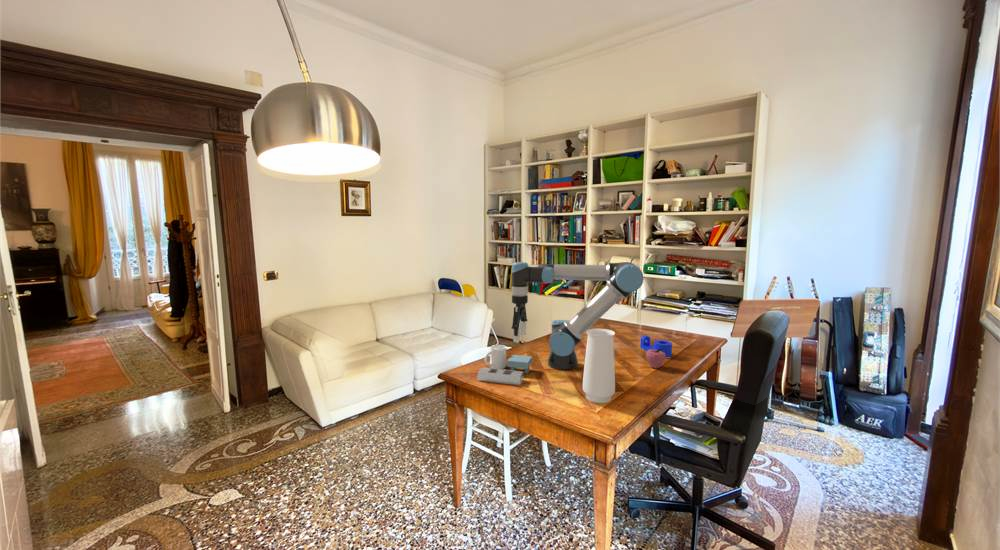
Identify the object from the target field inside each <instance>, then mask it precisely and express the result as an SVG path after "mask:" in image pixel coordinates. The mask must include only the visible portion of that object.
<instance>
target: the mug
mask: <svg viewBox="0 0 1000 550" xmlns="http://www.w3.org/2000/svg"><path fill="white" fill-rule="evenodd" d="M488 357H489V361H488ZM484 363H485V365H486V366H489V368H495V369H504V370H505V369H506V368H507V346H506V345H503V344H493V345H491V346H490V347H489V351H488V352H486V353H485V355H484Z"/></svg>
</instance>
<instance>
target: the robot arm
mask: <svg viewBox="0 0 1000 550" xmlns="http://www.w3.org/2000/svg"><path fill="white" fill-rule="evenodd" d="M554 280H562V281H564V280H567V281H568V280H569V281H599V282H604V281H605V282H606V285H605V286H603V288H602V289H601V290H600V291H598V293H597V294H596V295H595V296H594V297H592V298H591V300H590V301H589V302H588V303H587V304H586V305H584V306H583V308H582V309H580V311H578V313H576V314H575V315H574V316H573V317H572V318H571V319H570V320H569V319H554V320H553V321H552V322H551V334H550V337H549V339H548V344H549V349H550V353H549V355H548V359H547V365H548V366H549V367H550V368H553V369H556V370H562V371H568V370H569V371H570V370H574V369H576V368H578V366H579V361H578V357H577V354H576V350H575V349H576V346H577V345H578V344H579V343H580V342H582V341H583V339H584V336H583V335H584V334H586V331H587V330H589V329H591V327H593V325H594V324H595V323H597V322H598V321H599V320H600V319H601V318H602V317H603V316H604V315H605V314H606V313H607V312H608V311H609V310H610V309H611V308H612V307H613V306H614V305H615V304H616V303H618V301H620V300H621V299H627V298H628V297H629V296H630V295H631V294H632V293H634V292H636V291H638V290H639V289H640V288H641V287H642V286H643V285H644V284H643V283H644V273H643V271H642V269H641V268H640V267H639V266H637V265H636V264H635V263H632V262H629V261H625V262H624V261H622V262H621V261H620V262H608V263H607V264H563V263H562V264H561V263H560V264H555V263H554V264H550V263H549V264H548V263H540V264H538V265H537V266H529V264H528V262H526V261H524V262H523V261H516V262H513V263H512V265H511V287H510V290H511V303H512V304H513V305H514V304H515V306H514V307H513V316H512V323H511V324H512V326H511V329H512V330H513V331H512V333H513V338H512V339H513V340H512V341H513V343H517V344H520V335H521V336H522V335H526V334H527V331H526V329H527V326H526V325H527V324H526V323H527V322H528V316H527V310H526V309H527V308H526V304H527V303H528V302H529V300H528V299H529V297H528V294H529V293H528V292H529V285H528V284H530V283H531V284H533V283H534V284H538V283H539V284H552V283H553V282H554Z"/></svg>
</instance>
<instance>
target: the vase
mask: <svg viewBox="0 0 1000 550" xmlns="http://www.w3.org/2000/svg"><path fill="white" fill-rule="evenodd" d="M585 334H587V340H586V348H585V355H584V357H585V358H584V366H583V375H582V376H583V377H582V391H583V392H584V393H585V397H586V400H588V401H590V402H591V403H596V404H605V403H609V402H610V401H611V399H612V397H613V395H615V393H616V373H615V370H616V369H615V367H616V366H615V350H614V349H615V345H614V336H615V334H616V332H615V331H614V330H611V329H608V328H599V327H598V328H589V329H588V330H587V331H586V332H585Z"/></svg>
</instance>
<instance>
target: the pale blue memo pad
mask: <svg viewBox="0 0 1000 550" xmlns="http://www.w3.org/2000/svg"><path fill="white" fill-rule="evenodd" d="M532 362H533V356H531V355H530V356H529V355H522V354H521V355H519V354H511V356H510V357H509V358H508V359H507V360H506V368H508V367H509V370H514V371H516V368H517V369H524V371H523V374H529V371H530V366H531V364H532Z"/></svg>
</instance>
